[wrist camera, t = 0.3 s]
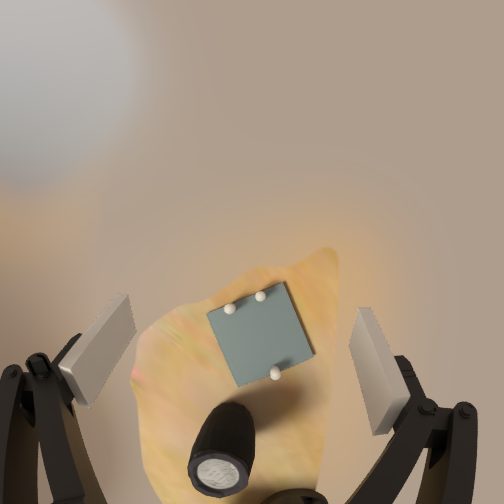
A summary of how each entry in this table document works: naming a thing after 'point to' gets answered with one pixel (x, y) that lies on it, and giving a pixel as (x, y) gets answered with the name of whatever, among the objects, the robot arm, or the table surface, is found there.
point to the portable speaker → (223, 452)
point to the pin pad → (260, 335)
